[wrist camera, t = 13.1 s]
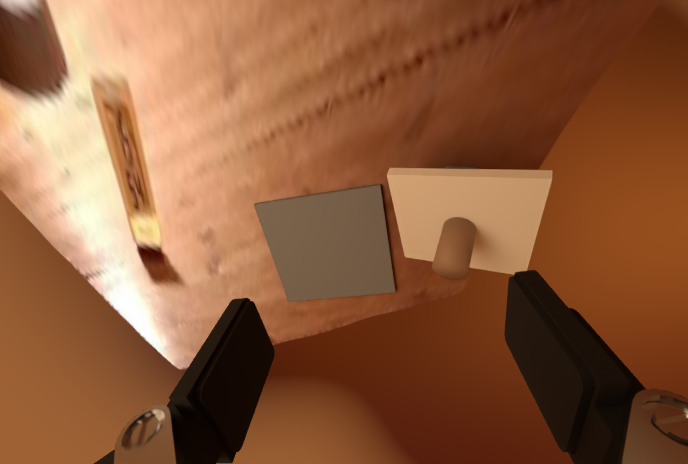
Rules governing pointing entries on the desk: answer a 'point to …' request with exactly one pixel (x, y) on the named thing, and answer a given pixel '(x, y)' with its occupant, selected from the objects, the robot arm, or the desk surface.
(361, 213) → the slate mat
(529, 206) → the cover board
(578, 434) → the robot arm
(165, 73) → the desk surface
